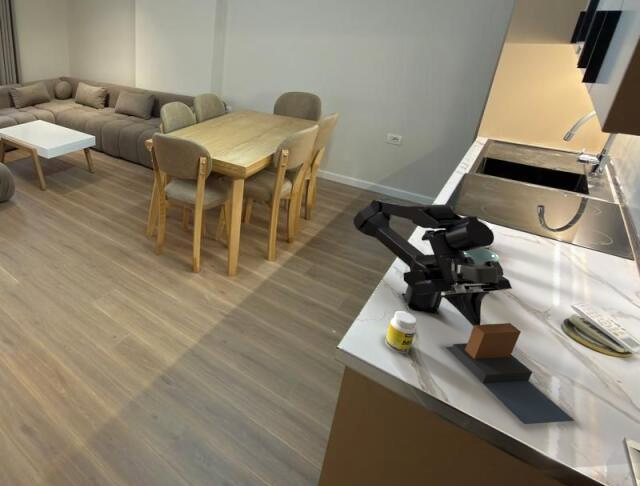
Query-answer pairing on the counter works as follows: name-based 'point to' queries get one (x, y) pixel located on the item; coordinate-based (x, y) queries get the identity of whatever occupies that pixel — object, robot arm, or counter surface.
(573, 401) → the counter surface
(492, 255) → the cup
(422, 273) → the robot arm
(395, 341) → the supplement bottle
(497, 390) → the mat
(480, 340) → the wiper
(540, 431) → the counter surface
